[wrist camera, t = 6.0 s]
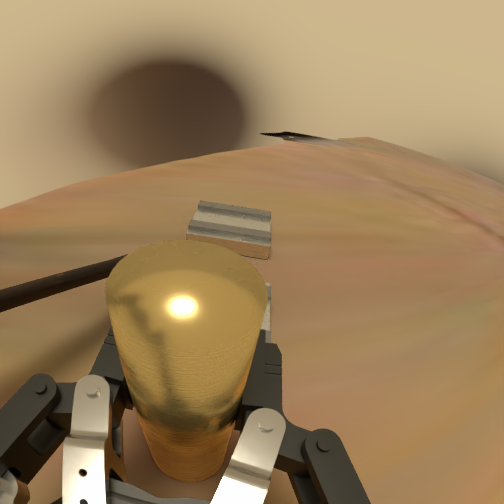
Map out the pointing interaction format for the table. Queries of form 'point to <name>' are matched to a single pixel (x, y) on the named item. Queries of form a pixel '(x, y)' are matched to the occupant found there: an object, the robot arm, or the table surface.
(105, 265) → the wrench
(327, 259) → the table surface
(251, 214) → the metal plates
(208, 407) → the link pin
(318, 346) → the table surface
